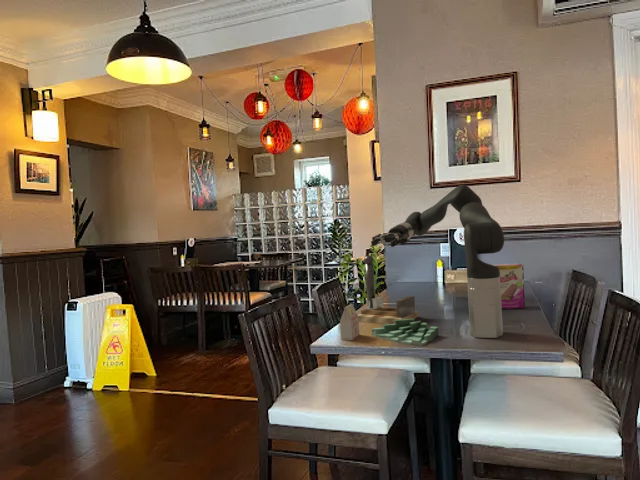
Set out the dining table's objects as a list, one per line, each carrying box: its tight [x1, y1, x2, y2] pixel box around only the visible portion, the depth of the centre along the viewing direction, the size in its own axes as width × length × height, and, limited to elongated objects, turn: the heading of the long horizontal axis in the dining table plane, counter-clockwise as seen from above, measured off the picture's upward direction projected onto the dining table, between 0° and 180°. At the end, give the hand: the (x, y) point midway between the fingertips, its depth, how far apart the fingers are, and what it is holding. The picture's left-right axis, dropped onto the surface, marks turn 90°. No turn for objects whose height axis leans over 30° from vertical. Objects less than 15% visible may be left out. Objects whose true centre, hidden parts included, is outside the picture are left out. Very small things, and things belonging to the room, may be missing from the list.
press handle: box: [363, 254, 385, 311], centre depth 173 cm, size 6×5×21 cm
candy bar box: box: [493, 263, 526, 310], centre depth 176 cm, size 11×5×16 cm, turn 84°
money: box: [371, 318, 439, 347], centre depth 144 cm, size 20×16×5 cm
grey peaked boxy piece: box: [339, 303, 360, 341], centre depth 147 cm, size 4×7×10 cm, turn 157°
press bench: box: [357, 295, 419, 325], centre depth 170 cm, size 18×14×8 cm
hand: (381, 244), depth 180 cm, fingers open, 8 cm apart
